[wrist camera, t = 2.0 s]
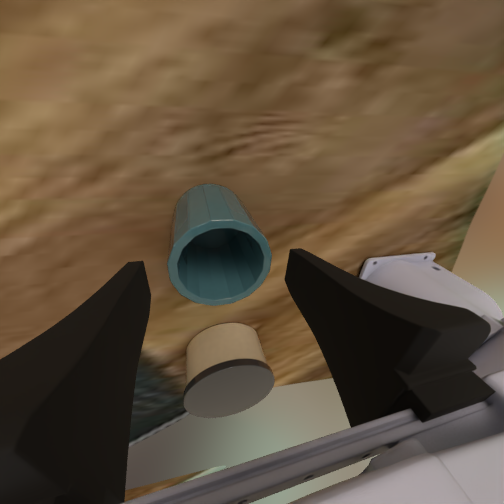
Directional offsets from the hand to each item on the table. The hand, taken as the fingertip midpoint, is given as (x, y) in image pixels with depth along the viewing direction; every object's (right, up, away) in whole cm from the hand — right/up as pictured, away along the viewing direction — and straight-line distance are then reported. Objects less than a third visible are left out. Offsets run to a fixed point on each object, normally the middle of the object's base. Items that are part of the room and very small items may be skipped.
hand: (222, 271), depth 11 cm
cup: (-2, +3, +6) cm, 7 cm away
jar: (-2, -10, +14) cm, 17 cm away
